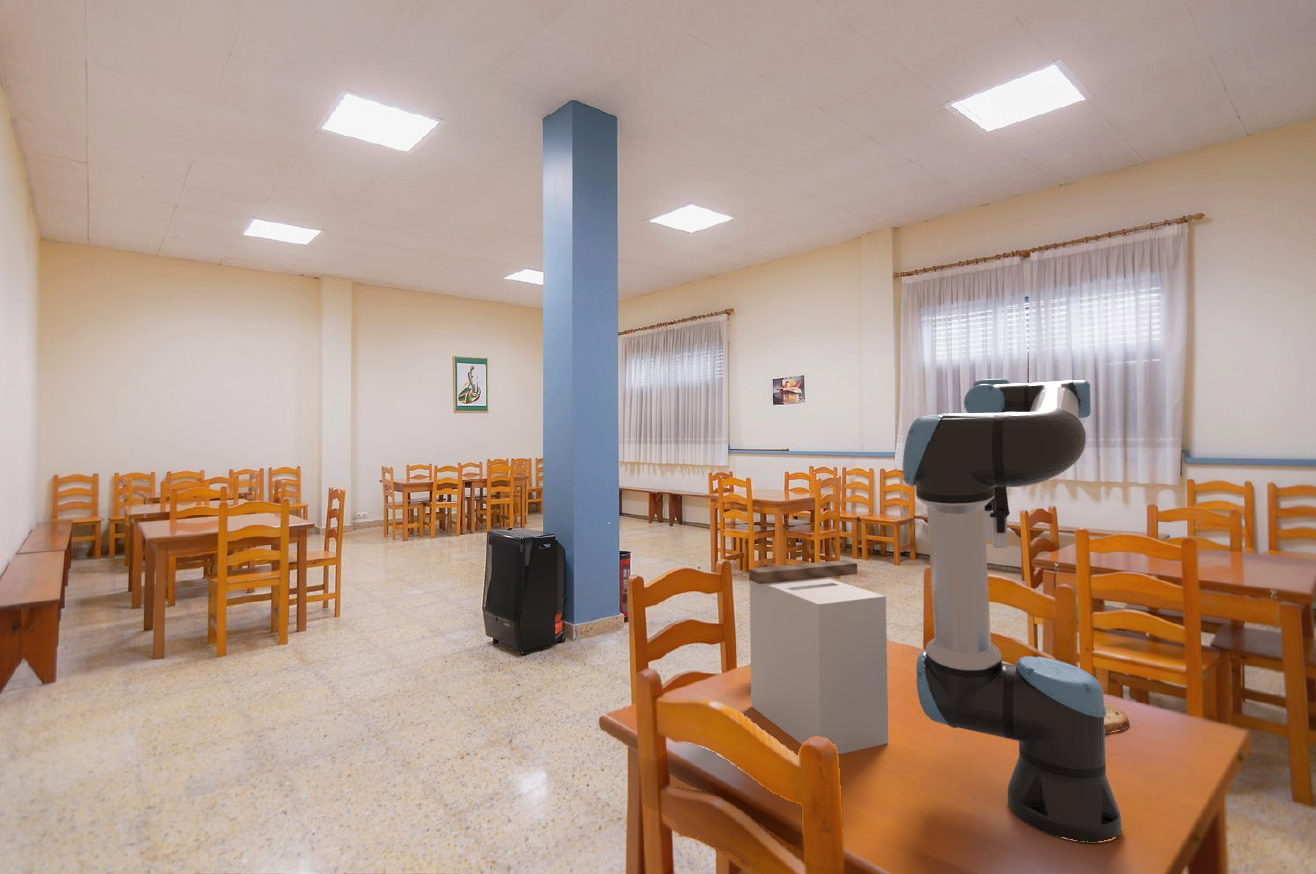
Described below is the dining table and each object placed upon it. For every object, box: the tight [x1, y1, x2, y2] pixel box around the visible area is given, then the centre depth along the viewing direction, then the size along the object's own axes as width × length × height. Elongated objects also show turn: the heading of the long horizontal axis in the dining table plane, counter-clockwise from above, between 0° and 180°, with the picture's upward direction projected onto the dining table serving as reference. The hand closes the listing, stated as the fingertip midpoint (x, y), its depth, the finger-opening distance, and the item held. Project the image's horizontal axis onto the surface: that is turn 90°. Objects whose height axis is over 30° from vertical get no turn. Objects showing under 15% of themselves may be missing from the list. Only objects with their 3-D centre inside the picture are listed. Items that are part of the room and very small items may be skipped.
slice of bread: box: [1104, 703, 1131, 732], centre depth 134 cm, size 18×18×4 cm
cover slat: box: [748, 559, 858, 584], centre depth 144 cm, size 26×5×2 cm, turn 111°
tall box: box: [749, 577, 889, 756], centre depth 134 cm, size 16×26×29 cm, turn 21°
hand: (994, 543), depth 141 cm, fingers open, 13 cm apart
